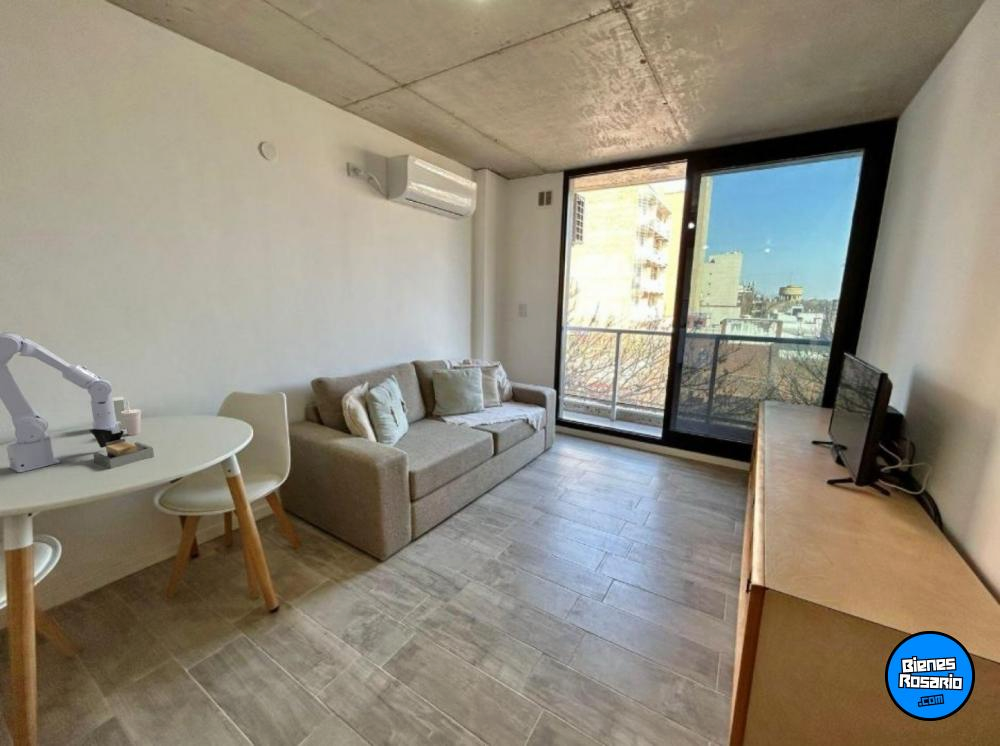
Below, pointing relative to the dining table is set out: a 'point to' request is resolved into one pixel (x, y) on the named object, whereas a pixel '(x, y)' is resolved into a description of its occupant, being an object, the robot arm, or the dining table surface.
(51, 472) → the dining table surface
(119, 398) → the supplement box
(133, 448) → the trolley
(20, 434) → the robot arm
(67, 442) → the dining table surface
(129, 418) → the smoothie
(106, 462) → the dock
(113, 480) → the dining table surface
